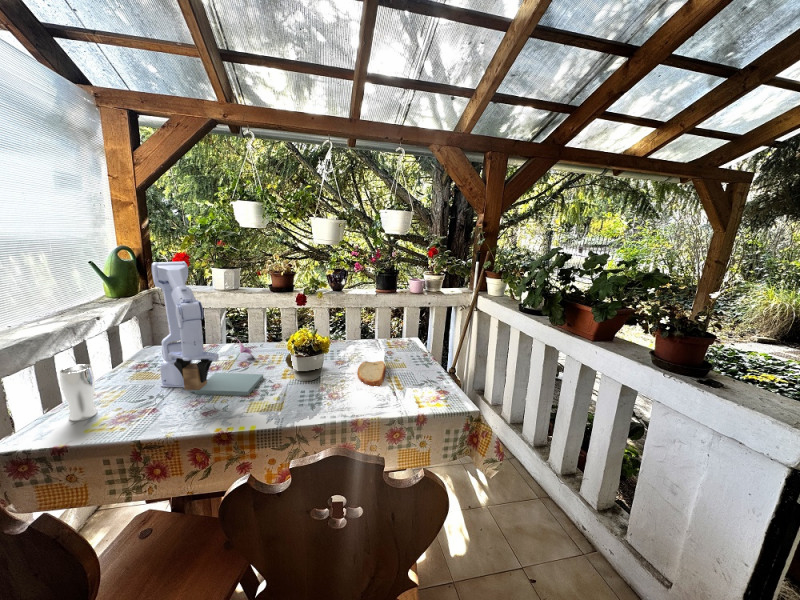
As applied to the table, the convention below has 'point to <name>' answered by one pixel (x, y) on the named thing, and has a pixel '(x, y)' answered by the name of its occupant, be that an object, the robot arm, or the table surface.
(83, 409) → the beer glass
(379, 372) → the slice of bread
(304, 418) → the table surface
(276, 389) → the table surface
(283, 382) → the table surface
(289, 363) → the potato
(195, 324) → the robot arm
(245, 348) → the lily
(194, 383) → the walnut block
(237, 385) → the slate board
